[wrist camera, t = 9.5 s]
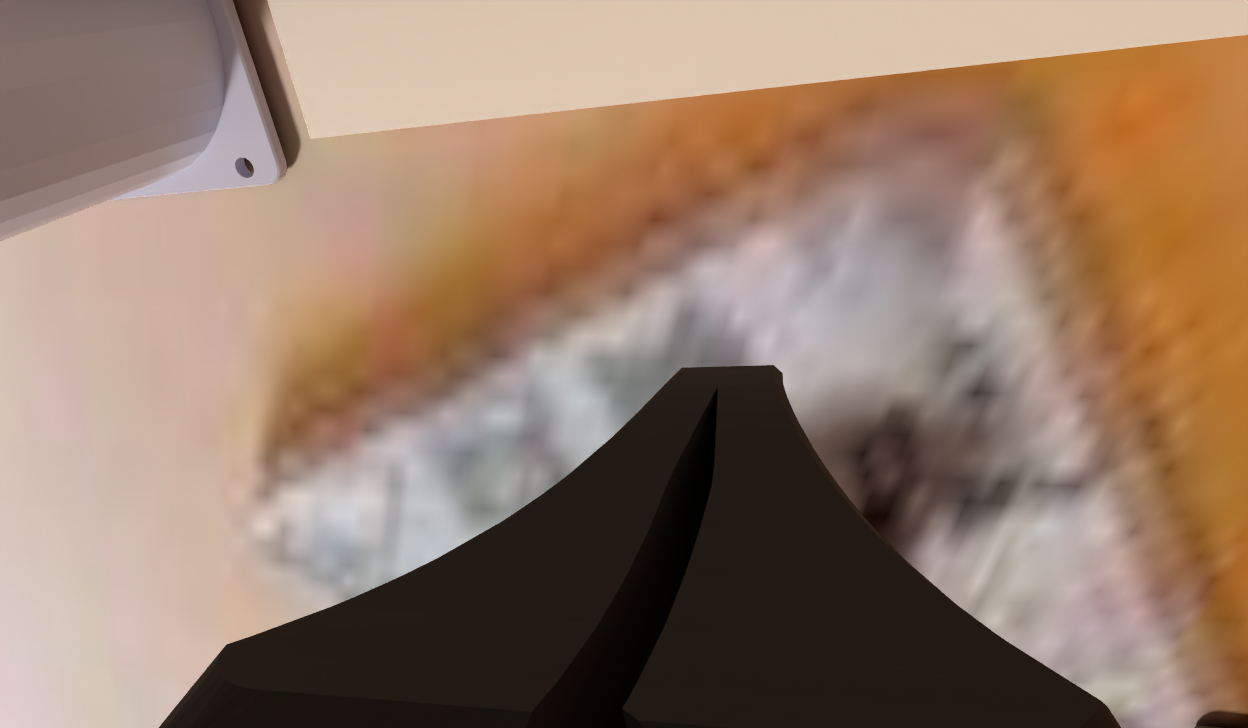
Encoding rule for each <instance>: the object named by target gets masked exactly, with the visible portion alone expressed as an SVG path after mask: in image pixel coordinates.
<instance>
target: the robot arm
mask: <svg viewBox="0 0 1248 728" xmlns="http://www.w3.org/2000/svg"><path fill="white" fill-rule="evenodd" d="M245 158H246V159H247V160H249V161H250V162H251V164H252V165H253V167H254V173H252V172H250V171H249V170H248V169H247V167H246V166H245V161H244V159H245ZM286 171H287V165H286V160H285V157H284V154H283V151H282V148H281V144H280V141H279V138H278V135H277V132H276V129H275V126H274V123H273V120H272V117H271V114H270V111H269V108H268V105H267V102H266V99H265V96H264V93H263V90H262V87H261V84H260V81H259V78H258V75H257V72H256V69H255V66H254V63H253V60H252V57H251V54H250V51H249V48H248V45H247V42H246V39H245V36H244V33H243V30H242V27H241V24H240V21H239V18H238V15H237V12H236V9H235V6H234V3H233V0H0V241H2V240H5V239H7V238H10V237H12V236H15V235H18V234H20V233H23V232H26V231H28V230H31V229H34V228H36V227H39V226H41V225H44V224H47V223H49V222H52V221H55V220H57V219H60V218H63V217H65V216H68V215H70V214H73V213H76V212H78V211H81V210H84V209H86V208H89V207H92V206H94V205H97V204H100V203H102V202H105V201H107V200H117V199H127V198H137V197H148V196H158V195H168V194H179V193H189V192H199V191H210V190H220V189H230V188H241V187H251V186H261V185H270V184H273V183H275V182H277V181H280V180H282V178H283V177H284V176H285V175H286ZM159 728H1121V727H1120V725H1119V724H1118V722H1117V721H1116V719H1115V718H1114V716H1113V715H1112V713H1111V712H1110V710H1109V708H1108V707H1107V706H1106V705H1105V704H1104V703H1103V702H1102V701H1100V700H1099V699H1097V698H1096V697H1094V696H1092V695H1091V694H1089V693H1088V692H1086V691H1084V690H1083V689H1081V688H1080V687H1078V686H1077V685H1075V684H1073V683H1072V682H1070V681H1069V680H1067V679H1065V678H1064V677H1062V676H1061V675H1059V674H1058V673H1056V672H1054V671H1053V670H1051V669H1050V668H1048V667H1046V666H1045V665H1043V664H1042V663H1040V662H1038V661H1037V660H1035V659H1034V658H1032V657H1031V656H1029V655H1027V654H1026V653H1024V652H1023V651H1021V650H1019V649H1018V648H1016V647H1015V646H1013V645H1012V644H1010V643H1008V642H1007V641H1005V640H1004V639H1002V638H1001V637H1000V636H998V635H997V634H995V633H994V632H993V631H991V630H990V629H988V628H987V627H986V626H984V625H983V624H982V623H980V622H979V621H978V620H976V619H975V618H974V617H972V616H971V615H970V614H968V613H967V612H966V611H964V610H963V609H962V608H960V607H959V606H958V605H956V604H955V603H954V602H953V601H952V600H950V599H949V598H948V597H947V596H946V595H945V594H944V593H942V592H941V591H940V590H939V589H938V588H937V587H935V586H934V585H933V584H932V583H931V582H930V581H929V580H927V579H926V578H925V577H924V576H923V575H922V574H921V573H919V572H918V571H917V570H916V569H915V568H914V567H912V566H911V565H910V564H909V563H908V562H907V561H906V560H905V559H904V558H903V557H902V556H901V555H900V554H899V553H898V552H897V551H896V550H895V549H894V548H893V547H892V546H891V545H890V544H889V543H888V542H887V541H886V540H885V539H884V538H883V537H882V536H881V535H880V534H879V533H878V532H877V531H876V530H875V529H874V527H873V526H872V525H871V524H870V523H869V522H868V521H867V520H866V518H865V517H864V516H863V515H862V514H861V513H860V512H859V511H858V509H857V508H856V507H855V506H854V504H853V503H852V502H851V501H850V500H849V498H848V497H847V496H846V494H845V493H844V492H843V491H842V489H841V488H840V487H839V485H838V484H837V482H836V481H835V480H834V478H833V477H832V475H831V474H830V473H829V471H828V470H827V468H826V467H825V466H824V464H823V463H822V461H821V459H820V458H819V456H818V455H817V453H816V452H815V450H814V449H813V447H812V445H811V443H810V442H809V440H808V438H807V436H806V435H805V433H804V431H803V429H802V428H801V426H800V424H799V422H798V420H797V418H796V416H795V414H794V412H793V410H792V407H791V405H790V403H789V400H788V398H787V395H786V392H785V389H784V385H783V375H782V372H780V371H779V370H778V369H777V368H776V367H775V366H774V365H766V366H730V367H695V368H681V369H680V370H679V371H678V372H677V373H676V374H675V375H674V376H673V377H672V378H671V379H670V380H669V381H668V382H667V383H666V384H665V385H664V386H663V387H662V388H661V389H660V390H659V391H658V392H657V393H656V394H655V395H654V396H653V397H652V398H651V399H650V400H649V401H648V403H647V404H646V405H645V406H644V407H643V408H642V409H641V410H640V411H639V412H638V413H637V414H636V415H635V416H634V417H633V418H632V419H631V420H630V421H629V422H628V423H626V424H625V425H624V426H623V427H622V428H621V429H620V430H619V431H618V432H617V433H616V434H615V435H614V436H613V437H612V438H611V439H610V440H608V441H607V442H606V443H605V444H604V445H603V446H601V447H600V448H599V449H598V450H597V451H596V452H594V453H593V454H592V455H591V456H590V457H589V458H587V459H586V460H585V461H584V462H583V463H582V464H581V465H579V466H578V467H577V468H576V469H575V470H574V471H572V472H571V473H570V474H569V475H567V476H566V477H565V478H564V479H562V480H561V481H560V482H558V483H557V484H556V485H554V486H553V487H552V488H550V489H549V490H548V491H546V492H545V493H544V494H542V495H541V496H539V497H538V498H536V499H535V500H533V501H532V502H531V503H529V504H528V505H526V506H525V507H523V508H522V509H520V510H519V511H517V512H516V513H514V514H513V515H511V516H510V517H508V518H507V519H505V520H504V521H502V522H500V523H499V524H497V525H495V526H493V527H492V528H490V529H488V530H486V531H485V532H483V533H481V534H479V535H478V536H476V537H474V538H472V539H471V540H469V541H467V542H465V543H464V544H462V545H460V546H458V547H457V548H455V549H453V550H451V551H450V552H448V553H446V554H444V555H443V556H441V557H439V558H437V559H435V560H433V561H431V562H429V563H427V564H425V565H423V566H421V567H419V568H417V569H415V570H413V571H411V572H409V573H407V574H405V575H403V576H401V577H399V578H396V579H394V580H392V581H390V582H388V583H385V584H383V585H381V586H379V587H376V588H374V589H372V590H370V591H367V592H365V593H363V594H361V595H358V596H356V597H354V598H351V599H349V600H346V601H344V602H342V603H339V604H337V605H334V606H332V607H329V608H327V609H324V610H321V611H319V612H316V613H313V614H311V615H308V616H305V617H302V618H300V619H297V620H294V621H292V622H289V623H286V624H283V625H281V626H278V627H275V628H273V629H270V630H267V631H265V632H262V633H259V634H256V635H254V636H251V637H248V638H245V639H242V640H239V641H236V642H233V643H230V644H227V645H226V646H225V647H224V648H223V650H222V651H221V652H220V653H219V654H218V656H217V657H216V658H215V659H214V660H213V662H212V663H211V664H210V665H209V667H208V668H207V669H206V670H205V672H204V673H203V674H202V675H201V676H200V678H199V679H198V680H197V681H196V683H195V684H194V685H193V686H192V687H191V689H190V690H189V691H188V692H187V694H186V695H185V696H184V697H183V699H182V700H181V701H180V702H179V703H178V705H177V706H176V707H175V708H174V710H173V711H172V712H171V713H170V715H169V716H168V717H167V718H166V719H165V721H164V722H163V723H162V724H161V726H160V727H159Z"/></svg>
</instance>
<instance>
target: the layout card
mask: <svg viewBox="0 0 1248 728" xmlns="http://www.w3.org/2000/svg"><path fill="white" fill-rule="evenodd" d="M267 1H268V4H269V8H270V11H271V14H272V17H273V20H274V24H275V27H276V30H277V33H278V36H279V40H280V43H281V46H282V49H283V52H284V56H285V59H286V62H287V65H288V68H289V71H290V75H291V78H292V81H293V84H294V87H295V91H296V94H297V97H298V100H299V103H300V107H301V110H302V113H303V116H304V119H305V123H306V126H307V129H308V132H309V135H310V139H313V138H322V137H331V136H340V135H349V134H358V133H367V132H376V131H385V130H394V129H403V128H412V127H421V126H430V125H439V124H448V123H457V122H466V121H475V120H484V119H493V118H502V117H511V116H520V115H529V114H538V113H547V112H556V111H565V110H574V109H583V108H592V107H601V106H610V105H619V104H628V103H637V102H646V101H655V100H664V99H673V98H682V97H691V96H700V95H709V94H718V93H727V92H736V91H745V90H754V89H763V88H772V87H781V86H790V85H799V84H808V83H817V82H826V81H835V80H844V79H853V78H862V77H871V76H880V75H889V74H898V73H907V72H916V71H925V70H934V69H943V68H952V67H961V66H970V65H979V64H988V63H997V62H1006V61H1015V60H1024V59H1033V58H1042V57H1051V56H1060V55H1069V54H1078V53H1087V52H1096V51H1105V50H1114V49H1123V48H1132V47H1141V46H1150V45H1159V44H1168V43H1177V42H1186V41H1195V40H1204V39H1213V38H1222V37H1231V36H1240V35H1248V0H267Z"/></svg>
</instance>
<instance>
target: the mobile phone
mask: <svg viewBox="0 0 1248 728" xmlns="http://www.w3.org/2000/svg"><path fill="white" fill-rule="evenodd" d="M1195 728H1222V727H1212V726H1196V727H1195Z"/></svg>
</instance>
